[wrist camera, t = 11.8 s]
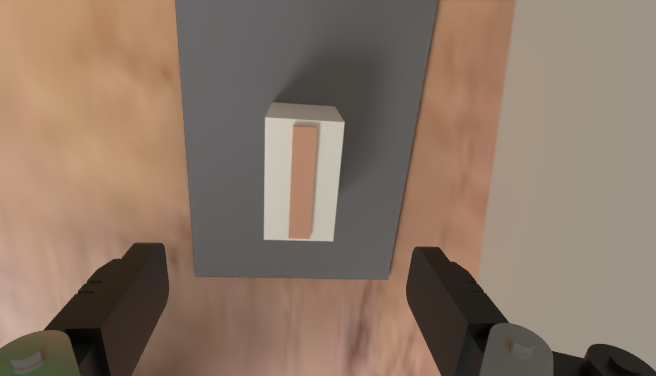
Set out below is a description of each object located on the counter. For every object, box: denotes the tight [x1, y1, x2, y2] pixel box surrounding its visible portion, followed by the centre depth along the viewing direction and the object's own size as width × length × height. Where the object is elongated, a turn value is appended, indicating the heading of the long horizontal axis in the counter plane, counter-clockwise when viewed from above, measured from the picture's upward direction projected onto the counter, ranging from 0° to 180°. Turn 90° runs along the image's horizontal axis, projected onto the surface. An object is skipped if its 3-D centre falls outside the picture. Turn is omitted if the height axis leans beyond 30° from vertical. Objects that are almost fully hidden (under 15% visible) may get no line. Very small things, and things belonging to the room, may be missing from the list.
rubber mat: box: [175, 0, 438, 280], centre depth 23 cm, size 15×20×1 cm
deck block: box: [264, 102, 345, 241], centre depth 21 cm, size 7×4×5 cm, turn 176°
